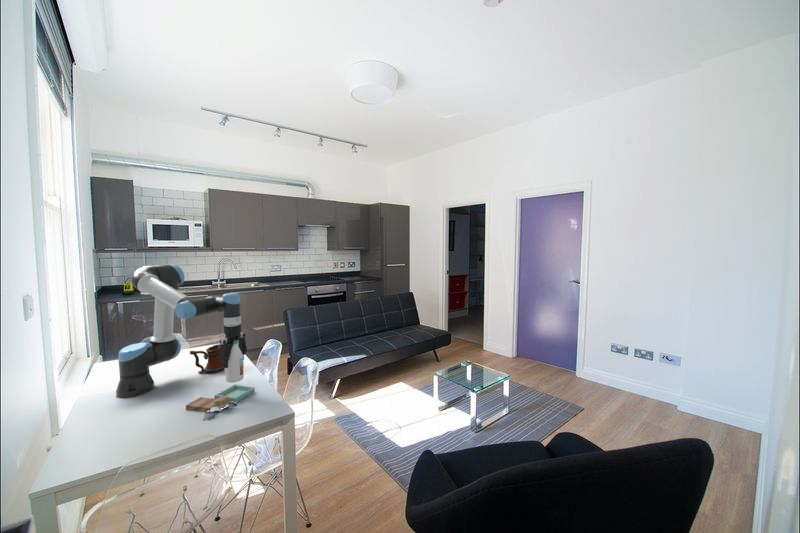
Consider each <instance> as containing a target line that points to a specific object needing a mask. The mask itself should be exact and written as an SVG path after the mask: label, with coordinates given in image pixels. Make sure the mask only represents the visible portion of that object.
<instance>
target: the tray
mask: <svg viewBox="0 0 800 533" xmlns="http://www.w3.org/2000/svg"><path fill="white" fill-rule="evenodd" d="M255 390H256V388H255V386H248V385H241V384H232V385H231V386H229V387H227V388H226V389H224V390H221V391H220V392H218V393H216V394H215V395H214V399H218V398H220V397H222V396H229V401H233V402H236V404H238V403H239V402H241V401H243V400H245V399H246V398H248V397H249V396H251V395H253V394H254V393H255V392H256V391H255Z"/></svg>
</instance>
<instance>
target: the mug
mask: <svg viewBox="0 0 800 533" xmlns="http://www.w3.org/2000/svg"><path fill="white" fill-rule="evenodd" d="M220 346H221V345H220V343H219V344H214V345H212V346H210V347H208V348H206V349H205V350H190V351H189V355H193V357H194V358H195V361H194V362H195V363H194V364H195V366H196V368H200V371H197V373H198V374H203V373H205V374H209V375H211V374H216V373H221V372H224V371H225V368H224V364H223V361H219V358H220ZM198 354H202V355H203V356H202V357H203V359H204V360H205V361H206V360H207V363H206V365H205V366H203V365H202V364H200V358H199V356H198Z"/></svg>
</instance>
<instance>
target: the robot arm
mask: <svg viewBox="0 0 800 533" xmlns="http://www.w3.org/2000/svg"><path fill="white" fill-rule="evenodd" d="M130 277H131V279H130V281H131V284H132V286H133V287H134V288H135V289H136V290H138V291H139V292H140V293H144V294H146V293H147V294H149V295H150V296H152V297H154V313H153V314H154V315H153V335H152V336H151V337H150V338H149V343H148V342H138V343H133V344H130V345H127V346H125V347H123V348H121V349H120V350H119V352H118V359H117V360H118V368H119V381H118V384H117V387H116V389H115V395H116V397H118V398H131V397H136V396H140V395H143V394H146V393H149V392H150V391H152V390H153V389H154V388H155V381H154V380H153V377H152V375H151V373H150V367H152V366H155V365H158V364H162V363H165V362H169V361H171V360H173V359H176V357H178V356H179V354H180V352H181V347H182V346H181V341H180V340H179V339H178V338H177V336H176V335H175V334H174V319H175V318H174V317H175V315H176V316H177V317H178V318H179V319H182V320H184V319H192V318H194V317H198V316H203V315H208V314H212V313H213V314H214V313H223V314H222V316H223V326H224V327H223V334H224V335H225V337H224V339H220V340H219V344H220V345H221V346H220V358H219V361H223V364H224V368H225V370H224V374H225V375H226V374H229V375H230V374H231V371H230V361H229V357H230V353H231V349H232V347H233V344H234V341H235V340H239V344H238V346H239V349H240V350H241V352H242V356H243V369H244V368H245V367H244V366H245V365H244V360H245V355H246V353H247V352H248V348H247V340H246V333H245V332H242V310H241V309H242V308H241V302H242V301H241V296H240V294H239V293H238V292H228V293H223V295H222V296H217V295H211V296H207V297H205V298H199V299H194V298H192V297H190V296H188V295H186V294H184V293H183V292H181V291H179V288H180V286H181V285H183V284H184V282H185V273H184V271H183V270H182V268H181V267H180V266H179V265H176V264H156V265H155V264H154V265H143V266H140V267H139V268H137V269H136V270H135V271H133V273H132V275H131V276H130ZM228 344H231V345H228Z"/></svg>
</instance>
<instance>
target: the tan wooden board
mask: <svg viewBox="0 0 800 533" xmlns="http://www.w3.org/2000/svg"><path fill="white" fill-rule="evenodd" d="M215 400H216V399H215V398H214V397H213V398H210V397H198V398H197V399H195V400H193V401H191V402H190V403H187V404H186V405H185V410H186V411H194V412H201V413H202V412H203V413H208V412H207V411H208V410H210V409H211V408H212V407H215V404H214V401H215Z"/></svg>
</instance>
